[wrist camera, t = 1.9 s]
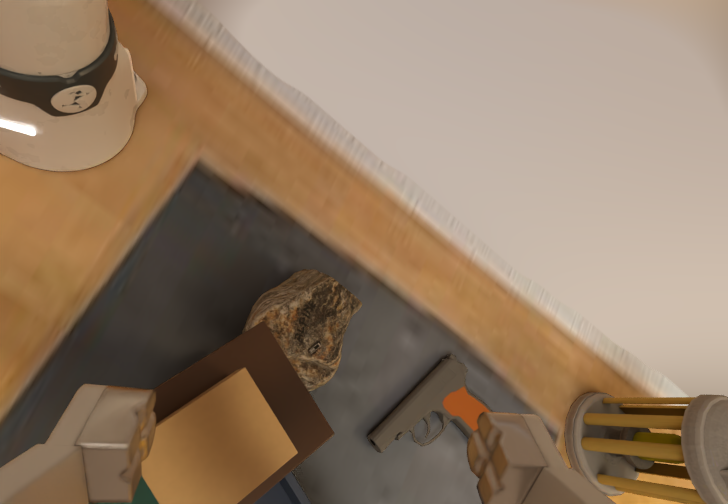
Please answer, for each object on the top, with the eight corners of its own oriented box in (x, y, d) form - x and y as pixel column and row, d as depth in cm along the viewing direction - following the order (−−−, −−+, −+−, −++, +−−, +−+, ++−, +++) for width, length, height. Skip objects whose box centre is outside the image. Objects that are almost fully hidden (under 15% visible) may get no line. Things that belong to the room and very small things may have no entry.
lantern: (604, 376, 72) (800, 367, 51) (645, 462, 71) (865, 489, 49) (549, 419, 65) (749, 429, 44) (594, 515, 64) (823, 574, 42)
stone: (303, 424, 47) (284, 366, 41) (238, 377, 53) (212, 320, 46) (378, 339, 55) (372, 279, 49) (315, 305, 60) (302, 247, 54)
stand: (116, 414, 44) (90, 428, 22) (211, 355, 49) (264, 320, 27) (160, 484, 44) (176, 569, 22) (250, 418, 49) (335, 434, 27)
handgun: (423, 517, 54) (364, 435, 53) (497, 423, 61) (446, 351, 61) (431, 520, 52) (370, 436, 52) (506, 424, 60) (454, 350, 60)
